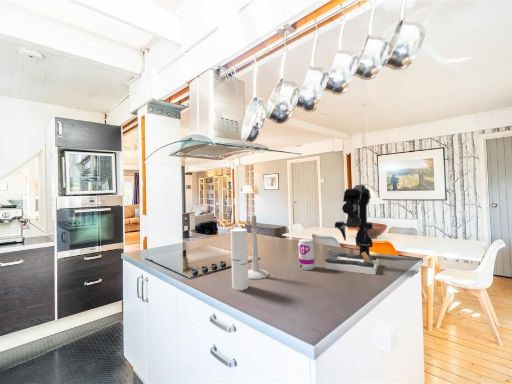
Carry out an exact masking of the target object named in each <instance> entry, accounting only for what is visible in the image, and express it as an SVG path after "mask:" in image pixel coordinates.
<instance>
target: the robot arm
mask: <svg viewBox="0 0 512 384" xmlns="http://www.w3.org/2000/svg"><path fill="white" fill-rule="evenodd" d="M371 196H372V195H371V192H370V190H369V188H367V187H366V186H365V185H364V184H356V185H355V186H354V187H353V188H346V189H345V190H344V195H343V200H342V202H344V204H343V206H342V208H341V209H342V212H343V213H344V214H346V215H347V217H346V221H345V222H344V221H343V220H342V221H339V220H337V221H335V222H334V228H336V229H337V230H339V231H340V233H341V235H342V238H343V240H344V241H345V242H346V241H347V240H346V239H347V238H346V236H347V235H346V228H347V229H348V228H350V229H351V228H353V229H356V228H358V231H357V232H356V236H355V246H356V247H359V248H358V250H359V251H358V253H359V254H358V255H361V254H362V253H363V252H366V254H367V255H368V256H372V255H371V254H370V248H373V247H374V243H373V239H372V237H371V234H370V231H371V230H373V228H374V223H373V222H372V221H371V222H369V221H368V205H369V203H370V200H371ZM345 227H346V228H345Z"/></svg>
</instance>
